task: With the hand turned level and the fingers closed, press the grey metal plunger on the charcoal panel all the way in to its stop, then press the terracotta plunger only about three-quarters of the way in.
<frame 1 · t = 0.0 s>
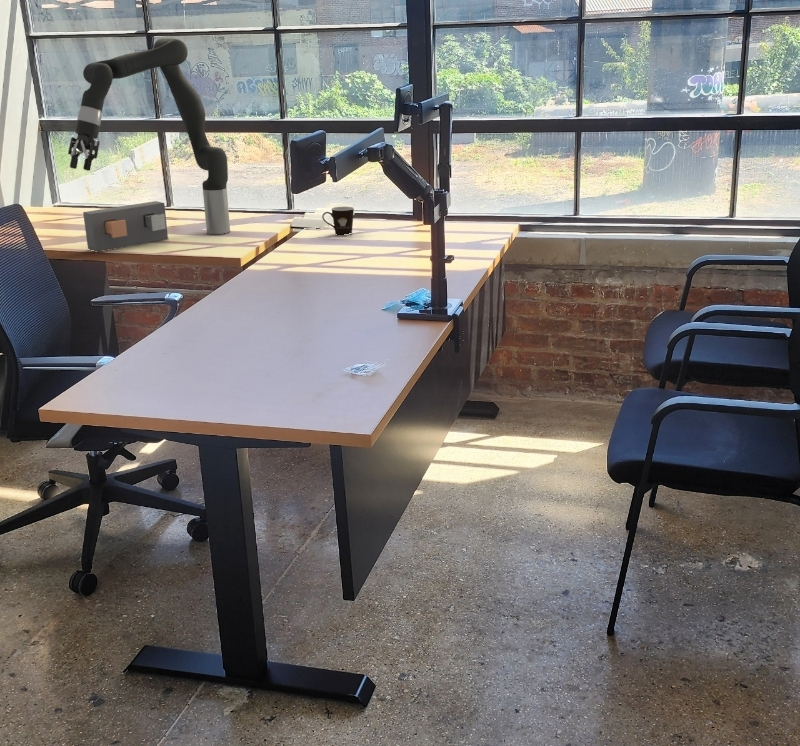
hand: (79, 169, 314), 31 cm above the table, tool tilted 20°, fingers open, 8 cm apart
grey plunger: (151, 220, 346), point 8 cm above the table, slide at 0.0 cm
terracotta plunger: (112, 227, 335), point 8 cm above the table, slide at 0.0 cm
coffee mug: (340, 234, 359), on the table
press panel: (129, 244, 347), on the table
file organizer: (323, 223, 383), on the table
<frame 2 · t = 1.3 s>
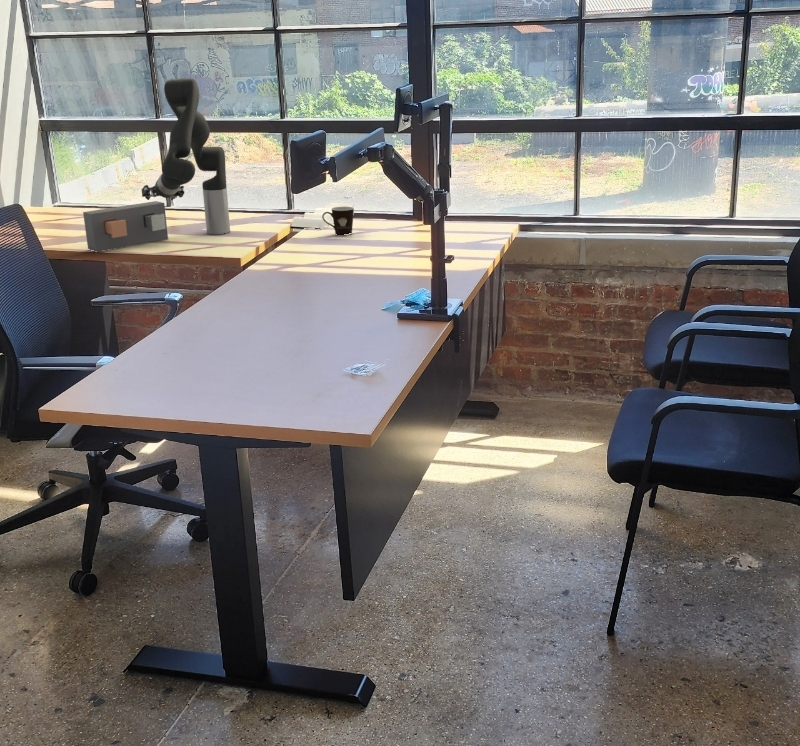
hand: (159, 197, 332), 19 cm above the table, tool tilted 65°, fingers open, 8 cm apart
nothing on the table moved.
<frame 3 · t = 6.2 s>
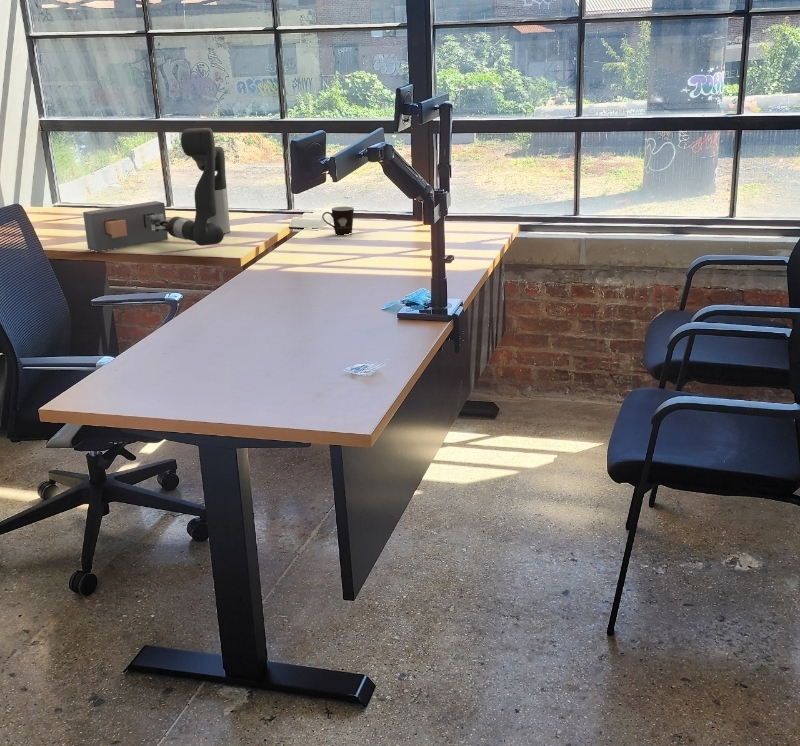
hand: (157, 222, 343), 8 cm above the table, tool horizontal, fingers closed
grey plunger: (150, 220, 346), point 8 cm above the table, slide at 0.6 cm, touching gripper
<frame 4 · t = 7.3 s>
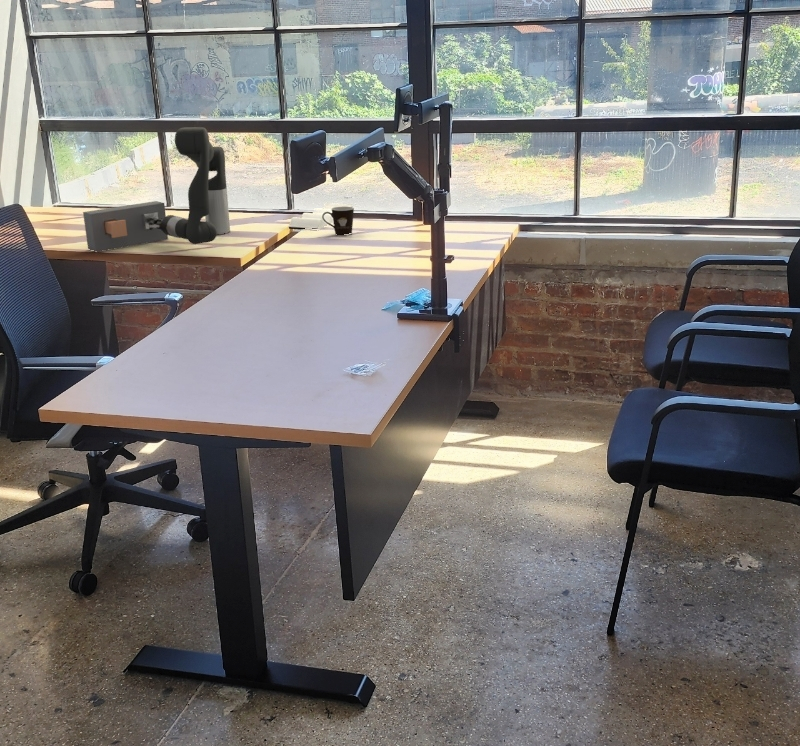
hand: (151, 220, 346), 8 cm above the table, tool horizontal, fingers closed
grey plunger: (145, 219, 349), point 8 cm above the table, slide at 4.8 cm, touching gripper
everything else where it was.
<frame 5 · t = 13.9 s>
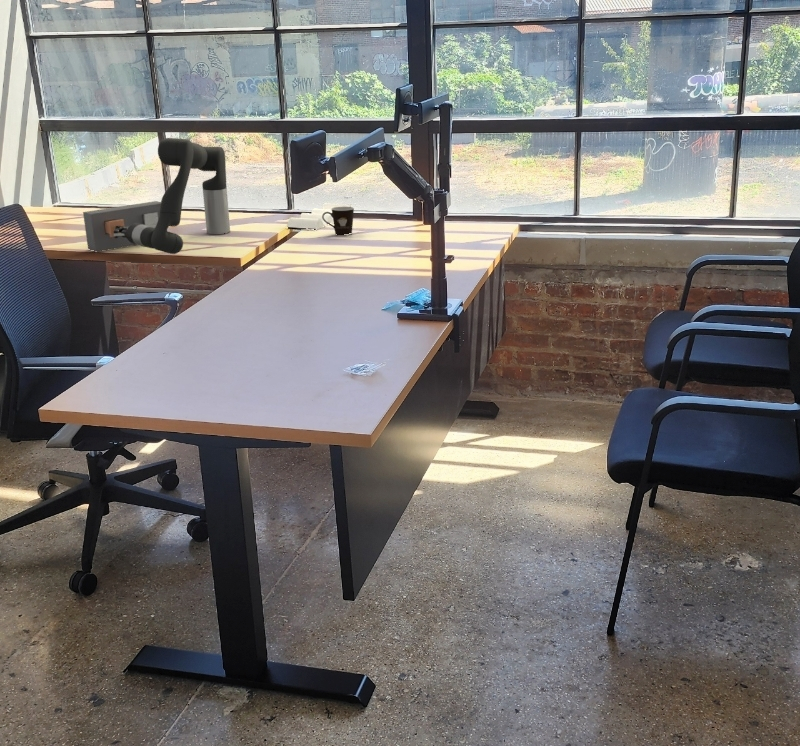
hand: (117, 228, 333), 8 cm above the table, tool horizontal, fingers closed
grey plunger: (144, 219, 349), point 8 cm above the table, slide at 5.0 cm
terracotta plunger: (110, 226, 336), point 8 cm above the table, slide at 1.4 cm, touching gripper
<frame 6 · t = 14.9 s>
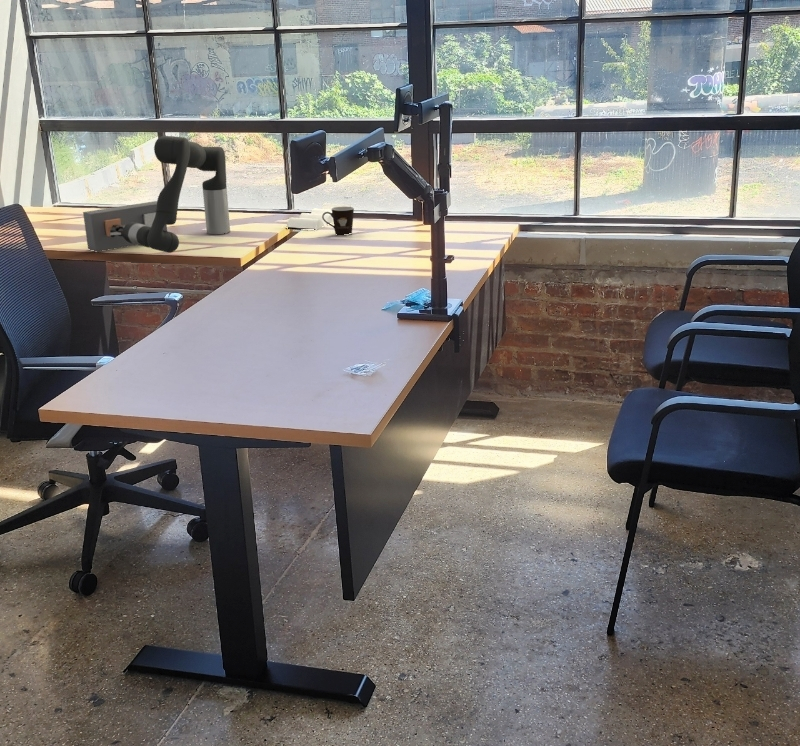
hand: (114, 227, 335), 8 cm above the table, tool horizontal, fingers closed
terracotta plunger: (107, 225, 338), point 8 cm above the table, slide at 3.7 cm, touching gripper
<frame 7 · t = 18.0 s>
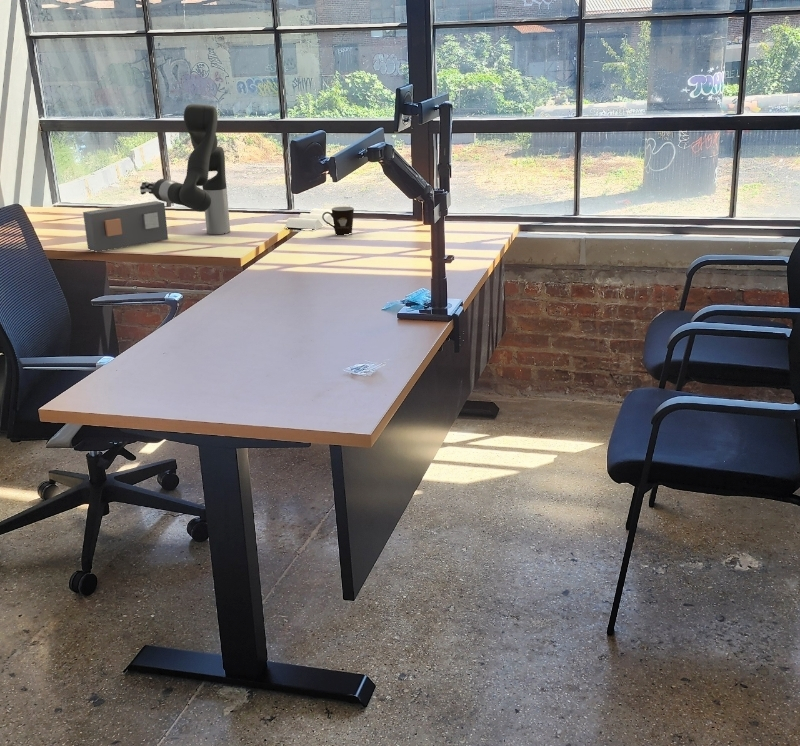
hand: (144, 185, 324), 24 cm above the table, tool horizontal, fingers closed
terracotta plunger: (107, 225, 338), point 8 cm above the table, slide at 3.7 cm
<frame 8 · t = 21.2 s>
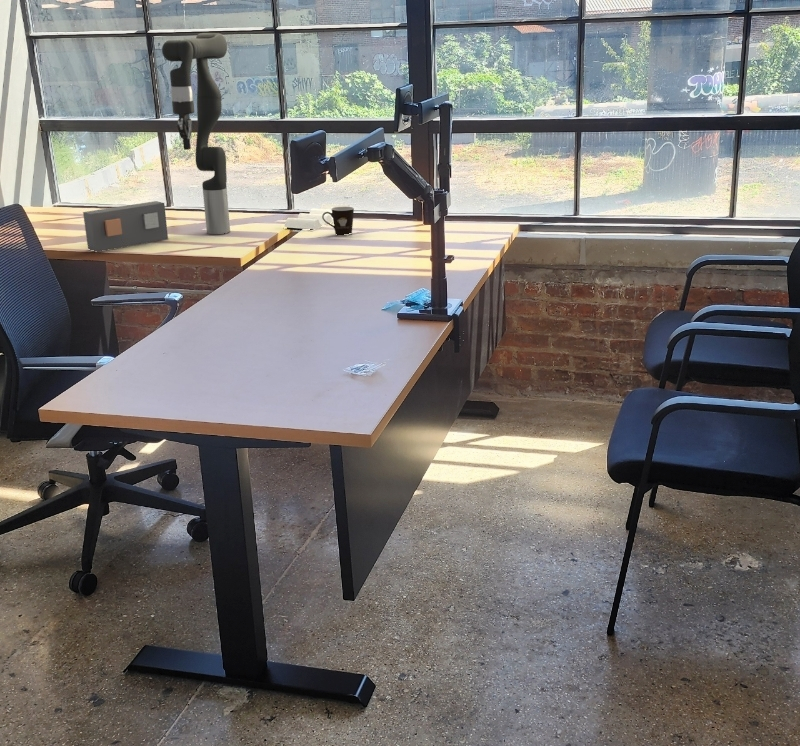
hand: (187, 149, 332), 35 cm above the table, tool pointing down, fingers closed
at the end: grey plunger slide at 5.0 cm; terracotta plunger slide at 3.7 cm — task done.
